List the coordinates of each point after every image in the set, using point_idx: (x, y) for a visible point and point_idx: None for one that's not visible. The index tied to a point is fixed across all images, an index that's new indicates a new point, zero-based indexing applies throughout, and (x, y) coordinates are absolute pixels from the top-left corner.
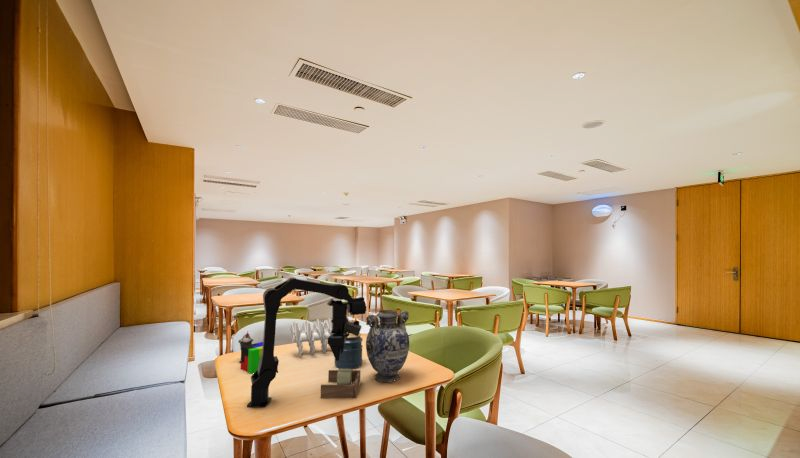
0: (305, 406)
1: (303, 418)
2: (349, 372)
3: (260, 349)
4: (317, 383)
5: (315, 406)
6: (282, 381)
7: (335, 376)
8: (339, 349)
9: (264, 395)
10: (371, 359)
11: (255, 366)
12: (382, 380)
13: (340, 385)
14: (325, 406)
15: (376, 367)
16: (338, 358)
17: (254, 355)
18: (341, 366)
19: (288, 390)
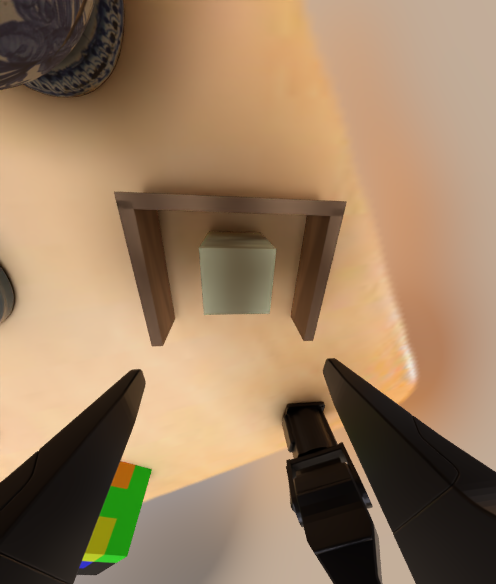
0: (338, 338)
1: (398, 327)
2: (260, 254)
3: (102, 551)
4: (189, 345)
5: (345, 317)
6: (185, 416)
7: (165, 308)
8: (461, 463)
9: (322, 426)
10: (36, 24)
11: (137, 487)
12: (119, 27)
13: (327, 275)
14: (352, 293)
15: (88, 11)
16: (346, 371)
17: (127, 531)
18: (5, 303)
19: (241, 391)
